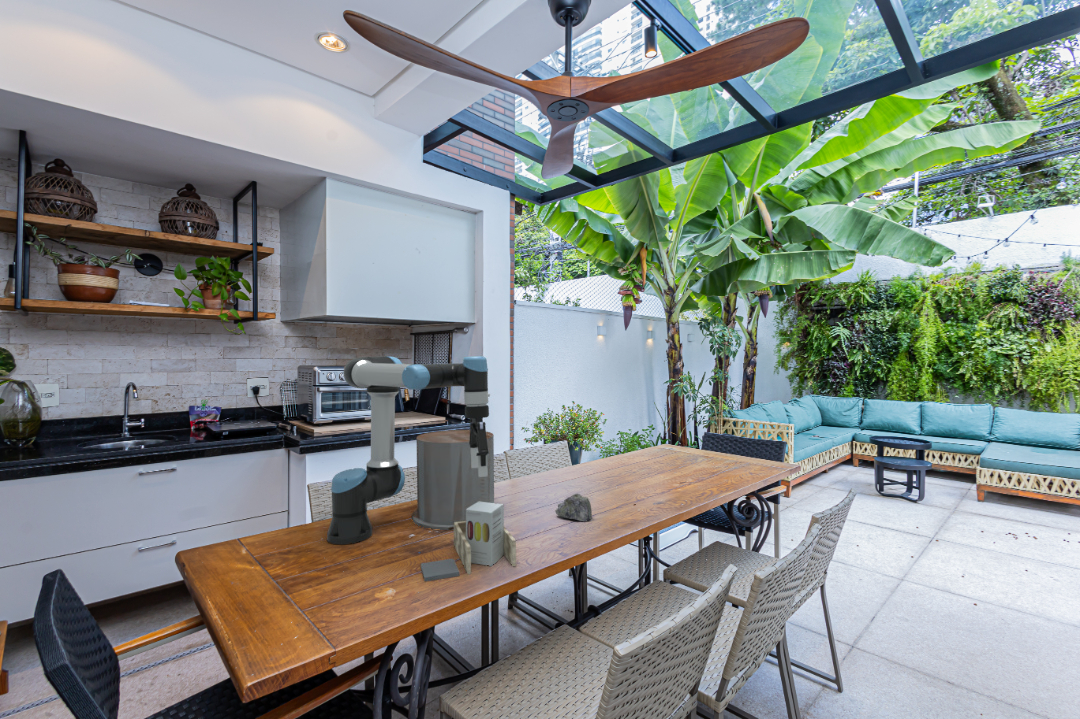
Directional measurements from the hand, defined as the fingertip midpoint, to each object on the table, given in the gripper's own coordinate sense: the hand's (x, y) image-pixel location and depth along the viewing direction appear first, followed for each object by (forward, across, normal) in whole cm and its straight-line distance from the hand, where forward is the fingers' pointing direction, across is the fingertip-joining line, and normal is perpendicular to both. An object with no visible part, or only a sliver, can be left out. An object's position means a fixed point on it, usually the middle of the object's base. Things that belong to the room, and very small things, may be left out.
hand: (479, 472), depth 154 cm
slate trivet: (+28, -4, +14) cm, 31 cm away
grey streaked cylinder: (+27, +46, +2) cm, 53 cm away
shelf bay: (+28, +4, -1) cm, 28 cm away
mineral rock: (+28, +27, -42) cm, 57 cm away
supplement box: (+28, +1, -1) cm, 28 cm away
